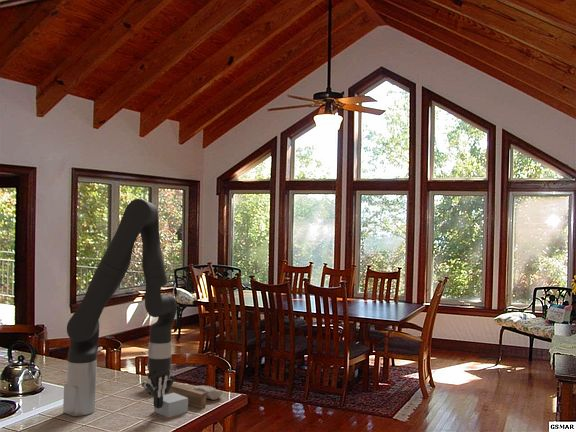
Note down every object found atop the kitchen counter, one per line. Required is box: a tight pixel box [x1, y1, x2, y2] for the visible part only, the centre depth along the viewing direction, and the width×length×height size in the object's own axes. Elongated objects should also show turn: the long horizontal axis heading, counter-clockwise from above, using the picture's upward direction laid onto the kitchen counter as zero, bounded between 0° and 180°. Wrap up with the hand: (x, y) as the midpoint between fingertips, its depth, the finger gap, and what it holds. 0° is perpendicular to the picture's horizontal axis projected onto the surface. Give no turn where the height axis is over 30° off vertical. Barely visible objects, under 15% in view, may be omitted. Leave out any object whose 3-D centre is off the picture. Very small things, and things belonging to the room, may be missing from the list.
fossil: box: [193, 385, 223, 401], centre depth 214 cm, size 9×6×10 cm
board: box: [164, 383, 207, 409], centre depth 208 cm, size 2×19×5 cm, turn 56°
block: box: [153, 393, 189, 419], centre depth 198 cm, size 8×8×5 cm
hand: (158, 407), depth 193 cm, fingers closed
